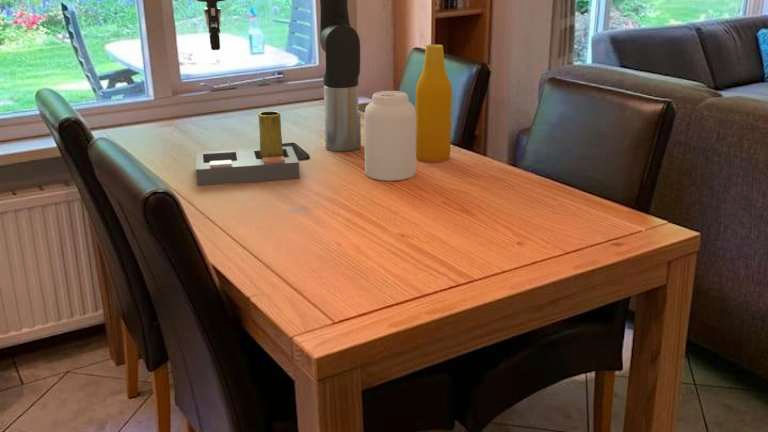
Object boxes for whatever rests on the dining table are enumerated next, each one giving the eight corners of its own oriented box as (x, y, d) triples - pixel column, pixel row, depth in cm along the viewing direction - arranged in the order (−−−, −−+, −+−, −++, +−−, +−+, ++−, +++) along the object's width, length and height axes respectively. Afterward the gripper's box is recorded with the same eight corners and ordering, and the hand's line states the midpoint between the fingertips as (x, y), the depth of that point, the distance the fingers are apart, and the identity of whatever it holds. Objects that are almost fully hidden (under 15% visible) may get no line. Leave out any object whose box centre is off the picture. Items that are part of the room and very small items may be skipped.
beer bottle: (410, 161, 198) (411, 47, 188) (420, 152, 206) (421, 42, 196) (445, 164, 195) (447, 49, 185) (453, 154, 203) (457, 43, 193)
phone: (281, 159, 197) (267, 145, 210) (281, 163, 198) (267, 149, 211) (311, 156, 200) (295, 142, 213) (311, 160, 201) (295, 146, 214)
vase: (272, 174, 188) (269, 117, 183) (254, 170, 191) (251, 113, 186) (289, 168, 192) (287, 112, 187) (272, 164, 196) (269, 109, 191)
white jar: (355, 177, 185) (353, 95, 178) (379, 164, 195) (379, 86, 188) (401, 184, 179) (402, 100, 173) (424, 170, 190) (425, 90, 183)
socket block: (292, 161, 198) (291, 143, 197) (299, 178, 185) (298, 159, 183) (197, 167, 193) (195, 150, 192) (197, 185, 179) (195, 167, 178)
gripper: (226, -18, 183) (231, 51, 189) (224, -21, 196) (228, 43, 202) (194, -17, 182) (200, 52, 187) (194, -21, 195) (199, 44, 200)
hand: (215, 47), depth 195 cm, fingers open, 8 cm apart
